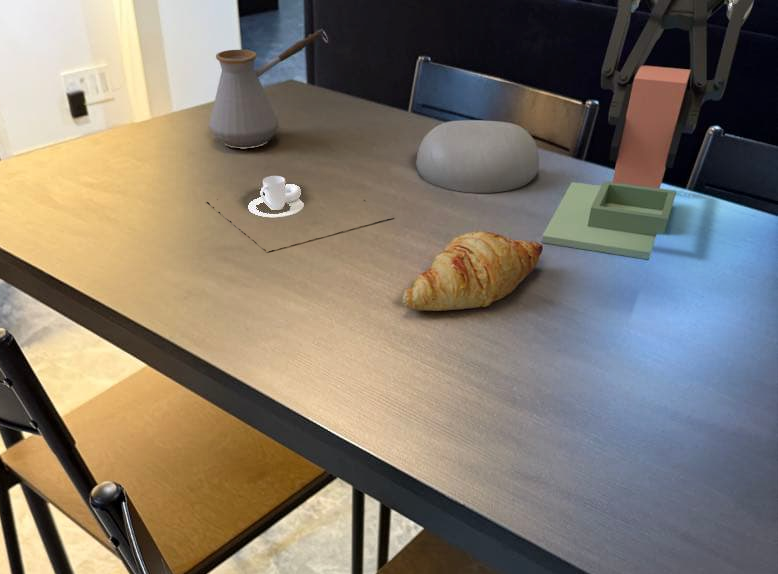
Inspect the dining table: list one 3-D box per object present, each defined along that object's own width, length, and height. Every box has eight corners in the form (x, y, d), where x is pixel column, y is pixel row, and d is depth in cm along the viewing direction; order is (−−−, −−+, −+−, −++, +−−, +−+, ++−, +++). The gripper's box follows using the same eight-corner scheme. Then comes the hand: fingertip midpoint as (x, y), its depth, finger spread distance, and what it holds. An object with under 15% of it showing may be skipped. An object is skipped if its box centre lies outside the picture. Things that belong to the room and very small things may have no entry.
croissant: (419, 352, 89) (443, 309, 81) (372, 285, 90) (391, 238, 83) (547, 295, 97) (578, 252, 90) (502, 235, 99) (530, 188, 92)
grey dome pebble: (414, 138, 109) (421, 103, 120) (412, 191, 114) (419, 152, 125) (547, 143, 107) (542, 106, 119) (539, 196, 113) (535, 156, 124)
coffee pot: (223, 158, 124) (209, 51, 113) (203, 136, 131) (188, 34, 120) (343, 139, 130) (340, 36, 119) (318, 119, 137) (313, 20, 127)
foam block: (664, 172, 84) (691, 69, 77) (659, 188, 81) (686, 83, 74) (618, 166, 86) (640, 65, 79) (612, 182, 82) (634, 77, 75)
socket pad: (709, 208, 109) (717, 182, 107) (697, 267, 96) (705, 240, 94) (570, 188, 114) (575, 164, 112) (541, 242, 101) (545, 216, 99)
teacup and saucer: (292, 193, 113) (290, 164, 110) (318, 211, 109) (317, 181, 106) (239, 205, 110) (235, 176, 107) (264, 225, 105) (260, 195, 102)
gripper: (786, -35, 79) (726, 186, 80) (610, -45, 84) (555, 164, 85) (808, -95, 72) (741, 149, 73) (614, -102, 76) (554, 127, 77)
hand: (641, 156), depth 79 cm, fingers closed on foam block, 5 cm apart
